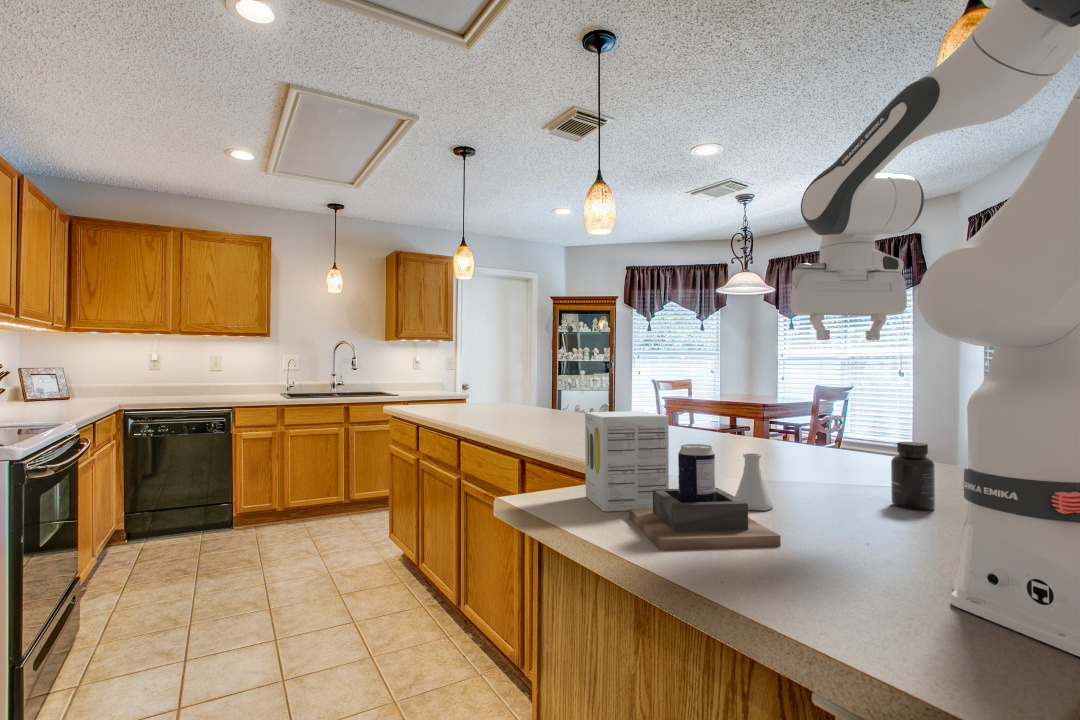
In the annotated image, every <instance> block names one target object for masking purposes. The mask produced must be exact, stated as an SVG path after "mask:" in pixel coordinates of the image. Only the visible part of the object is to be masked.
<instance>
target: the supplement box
mask: <svg viewBox="0 0 1080 720" xmlns="http://www.w3.org/2000/svg"><path fill="white" fill-rule="evenodd" d="M584 425H585V426H584V429H585V431H584V433H585V434H584V435H585V437H584V438H585V443H584V444H585V446H584V447H585V452H584V453H585V497H586V498H587V499H588V500H589V501H591V502H592V503H593V504H594V505H595V506H597V507H598V508H599V509H600V510H601V511H603V512H620V511H621V512H622V511H623V512H624V511H625V512H626V511H629V509H632V508H653V489H670V485H669V483H670V481H669V480H670V479H669V477H670V475H669V472H670V471H669V470H670V469H669V467H670V465H669V463H670V462H669V461H670V460H669V457H670V455H669V453H670V452H669V451H670V450H669V449H670V448H669V447H670V446H669V445H670V443H669V441H670V440H669V439H670V438H669V415H665V414H659V413H656V412H655V413H654V412H649V411H642V410H641V411H640V410H637V411H636V410H634V411H628V410H627V411H588V412H586V411H585V412H584Z"/></svg>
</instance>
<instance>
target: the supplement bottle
mask: <svg viewBox="0 0 1080 720" xmlns="http://www.w3.org/2000/svg"><path fill="white" fill-rule="evenodd" d="M896 445H897V446H896V447H897V449H896V452H897V453H898V455H895V456H894V457H893V458H892V459H891V461H890V462H891V463H890V465H891V466H890V467H891V468H890V470H891V471H890V474H891V476H890V478H891V481H890V482H891V484H890V485H891V487H890V488H891V489H890V490H891V491H890V492H891V504H892V505H893V506H894V507H897V508H899V509H903V510H904V509H905V510H909V511H917V512H918V511H919V512H926V511H927V512H929V511H933V510H934V509H935V508H936V476H935V474H936V473H935V472H936V471H935V470H936V469H935V467H936V465H935V463H934V462H933V460H932V459H931V458H929V457H928V456H927V455H929V450H928V449H929V447H928V444H927V443H924V442H915V441H898V442H897V443H896Z"/></svg>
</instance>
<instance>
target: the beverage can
mask: <svg viewBox="0 0 1080 720" xmlns="http://www.w3.org/2000/svg"><path fill="white" fill-rule="evenodd" d="M677 456H678V458H677V459H678V466H677V467H678V489H679V502H681V503H686V502H715V488H716V454H715V453H714V450H713V446H712V445H709V444H701V443H700V444H698V443H690V444H689V443H687V444H681V445H680V449H679V451H678V455H677Z"/></svg>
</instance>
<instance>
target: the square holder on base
mask: <svg viewBox="0 0 1080 720" xmlns="http://www.w3.org/2000/svg"><path fill="white" fill-rule="evenodd" d="M628 515H629V516H628V518H630V519H631V521H632V522H633V523H634V524H635V525H636V526H637V527H638V528H639V529H640V530H641V531H642V533H644V534H645V535H646V536H647V538H649V540H650V541H651V542H652V543H653V544H654V545H655V546H656V547H657V548H658V549H659V550H661V551H665V550H695V549H696V550H697V549H724V548H725V549H726V548H732V549H733V548H755V547H756V548H757V547H758V548H759V547H781V545H782V544H781V535H780V534H778V533H777V532H775V531H773V530H771V529H770V528H768V527H766V526H764V525H763V524H761V523H759V522H758V521H756V520H754V519H752V518H750V517H749V510H748V503H746V502H744V501H742V500H740V499H738V498H736V497H735V495H732V494H730V493H728V492H726V491H724V490H723V489H721V488H718V487H715V502H686V503H681V502H679V488H669V489H653V508H632V509H629V510H628Z"/></svg>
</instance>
